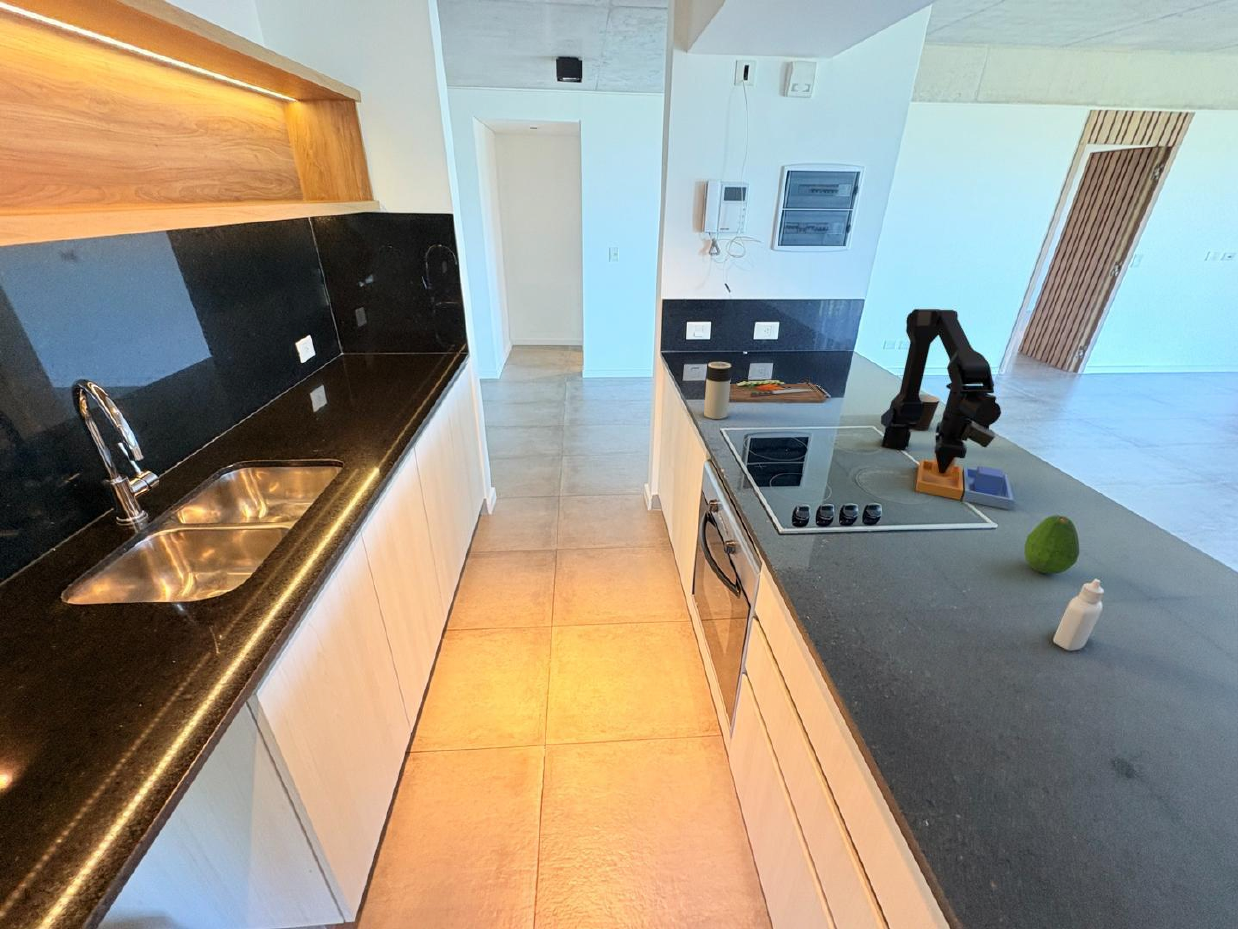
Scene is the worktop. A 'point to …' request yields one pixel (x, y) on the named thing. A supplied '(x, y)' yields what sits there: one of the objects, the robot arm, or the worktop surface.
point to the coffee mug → (927, 411)
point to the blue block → (988, 480)
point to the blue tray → (999, 501)
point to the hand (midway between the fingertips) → (941, 469)
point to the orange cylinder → (948, 471)
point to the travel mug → (717, 390)
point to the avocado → (1052, 545)
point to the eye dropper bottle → (1080, 617)
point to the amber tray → (939, 481)
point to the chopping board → (775, 392)
